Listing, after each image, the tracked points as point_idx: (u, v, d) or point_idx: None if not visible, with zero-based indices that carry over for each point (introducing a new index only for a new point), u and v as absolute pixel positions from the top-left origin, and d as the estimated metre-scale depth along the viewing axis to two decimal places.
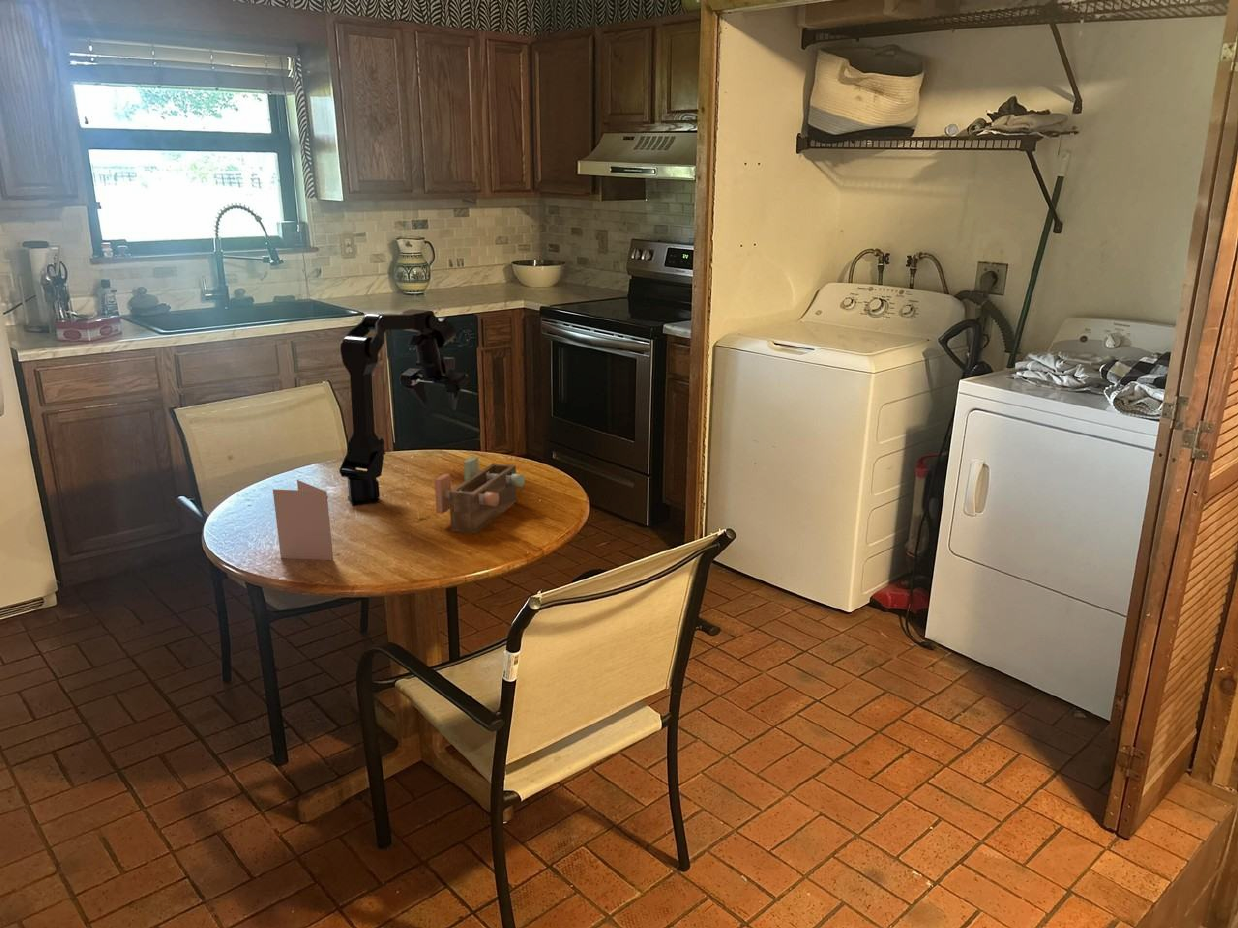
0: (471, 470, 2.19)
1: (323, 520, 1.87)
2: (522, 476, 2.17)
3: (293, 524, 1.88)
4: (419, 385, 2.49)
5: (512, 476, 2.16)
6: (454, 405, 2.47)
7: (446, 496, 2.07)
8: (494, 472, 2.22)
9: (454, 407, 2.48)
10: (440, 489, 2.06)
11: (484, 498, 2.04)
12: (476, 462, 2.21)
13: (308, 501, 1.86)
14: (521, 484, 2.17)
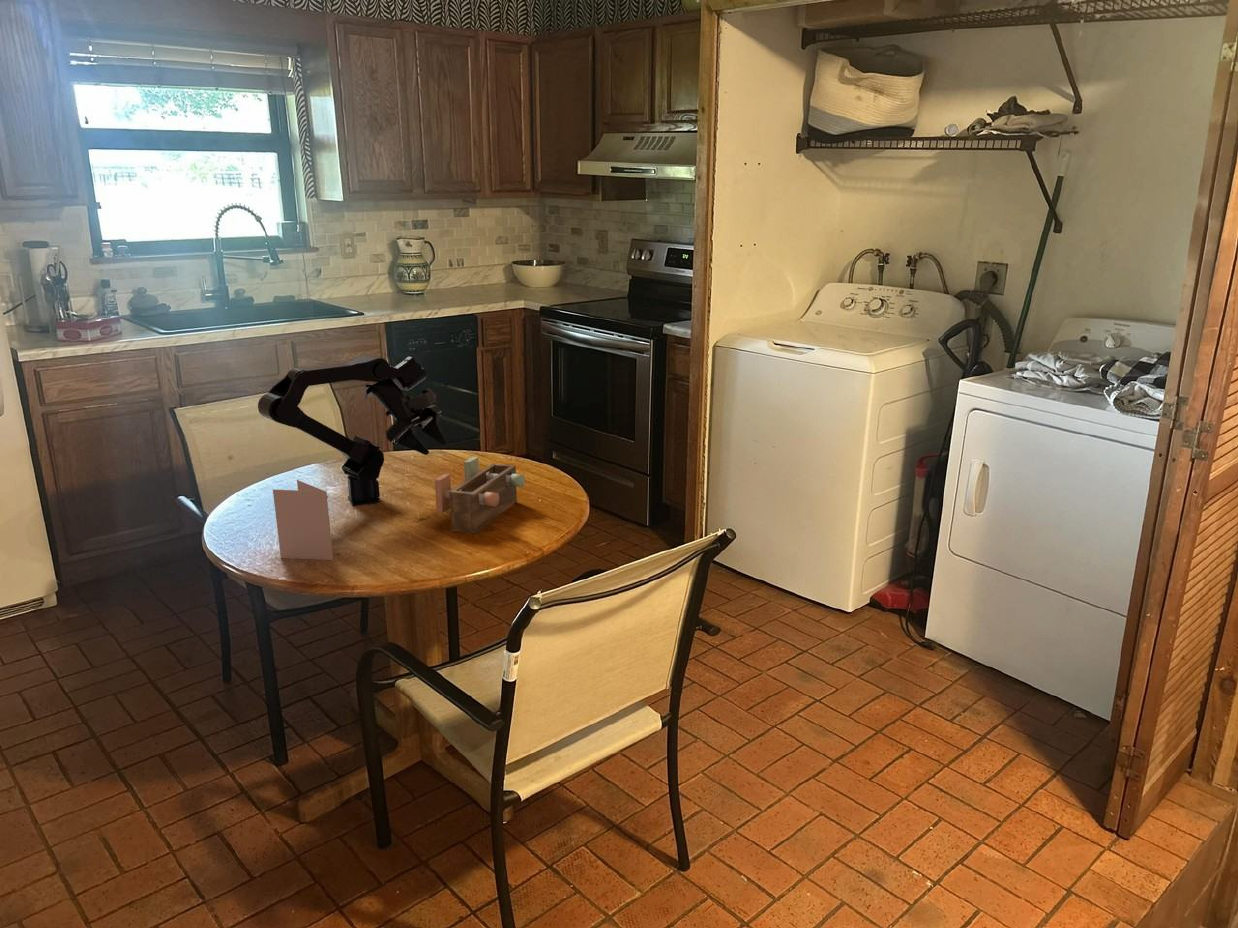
0: (471, 470, 2.19)
1: (323, 520, 1.87)
2: (522, 476, 2.17)
3: (293, 524, 1.88)
4: (429, 425, 2.27)
5: (512, 476, 2.16)
6: (421, 451, 2.18)
7: (446, 496, 2.07)
8: (494, 472, 2.22)
9: (423, 452, 2.18)
10: (440, 489, 2.06)
11: (484, 498, 2.04)
12: (476, 462, 2.21)
13: (308, 501, 1.86)
14: (521, 484, 2.17)
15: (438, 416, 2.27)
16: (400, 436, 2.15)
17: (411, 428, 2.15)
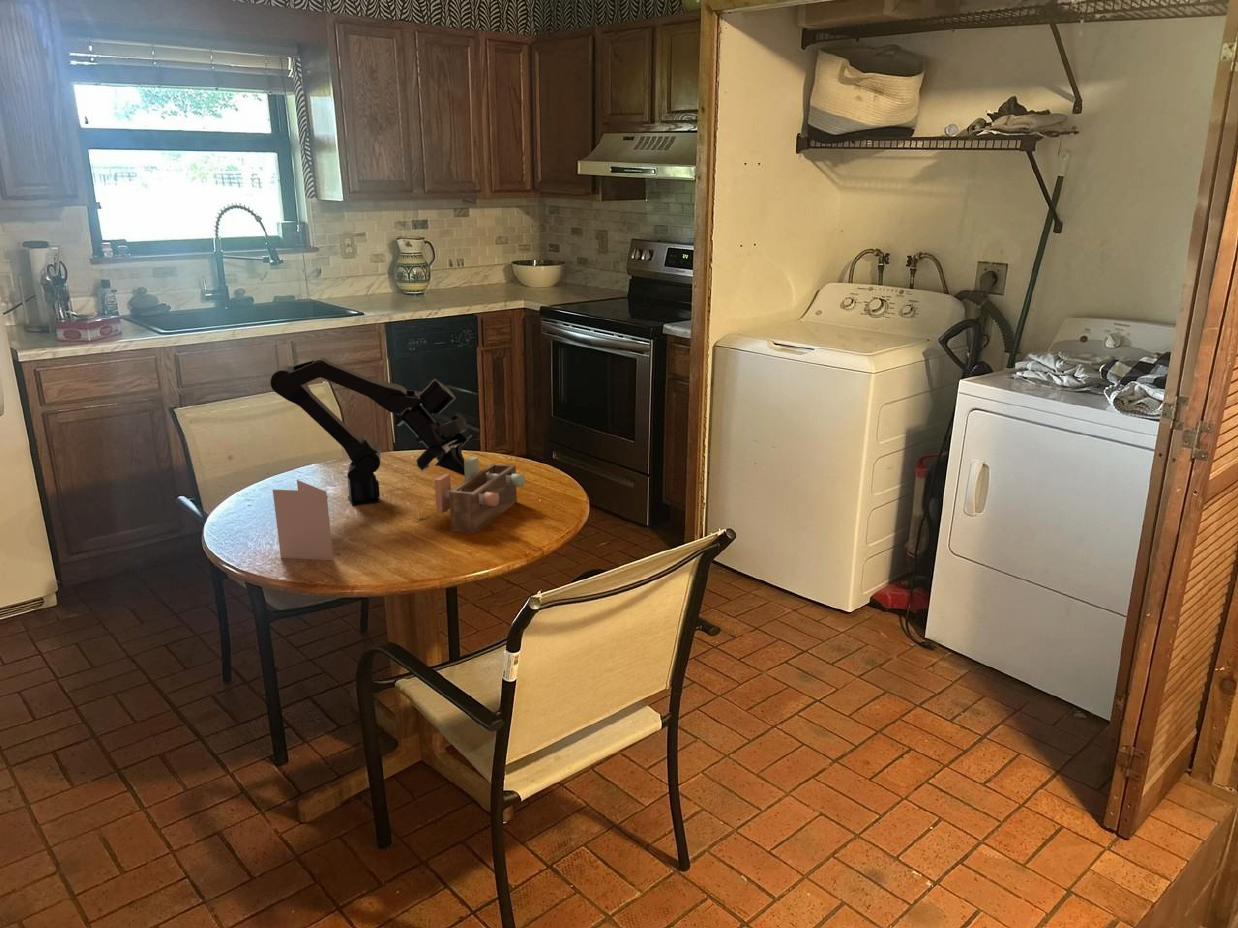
0: (471, 470, 2.19)
1: (323, 520, 1.87)
2: (522, 476, 2.17)
3: (293, 524, 1.88)
4: None
5: (512, 476, 2.16)
6: (461, 472, 2.21)
7: (446, 496, 2.07)
8: (494, 472, 2.22)
9: (463, 474, 2.21)
10: (440, 489, 2.06)
11: (484, 498, 2.04)
12: (476, 462, 2.21)
13: (308, 501, 1.86)
14: (521, 484, 2.17)
15: (460, 446, 2.22)
16: (440, 459, 2.18)
17: (451, 451, 2.18)
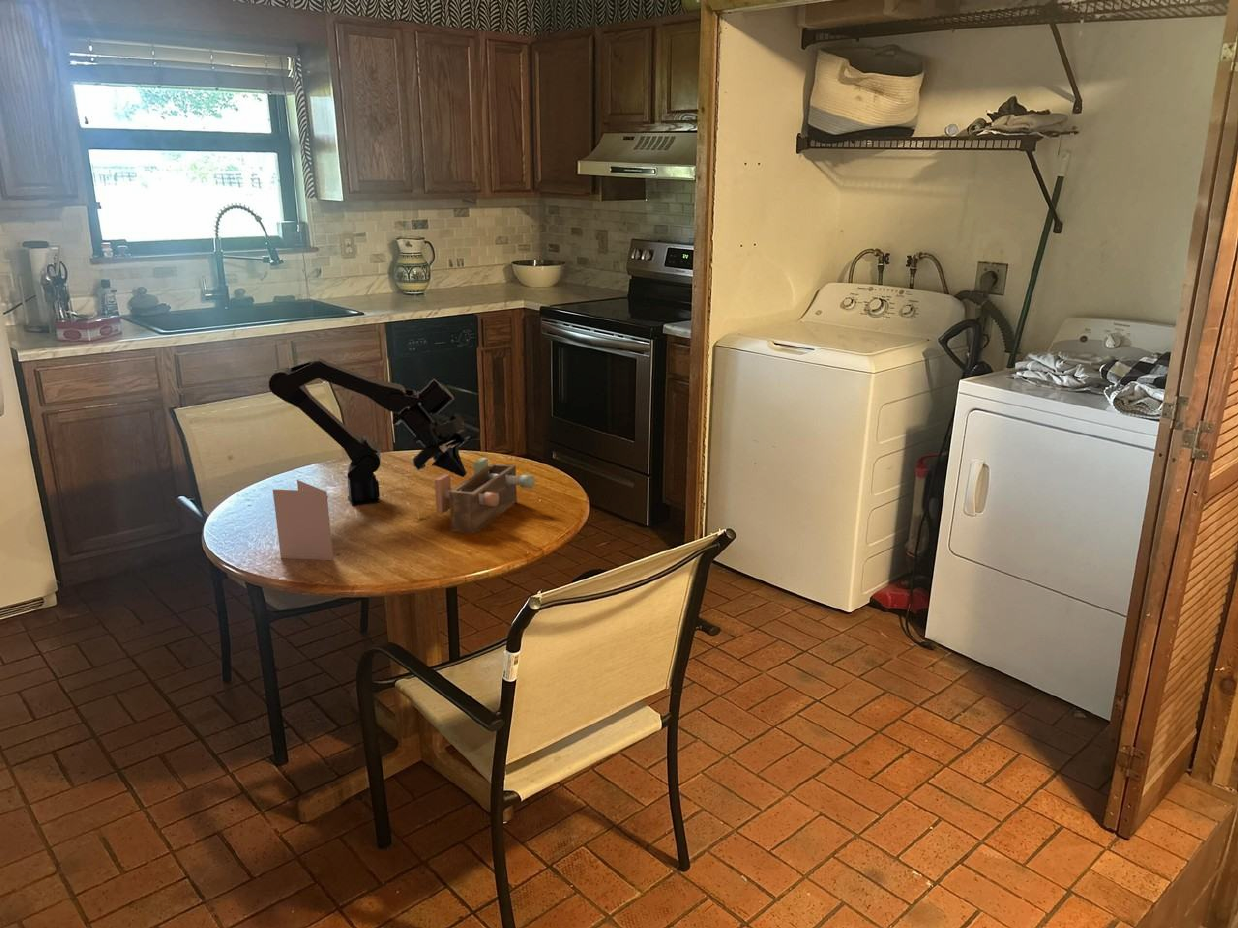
0: None
1: (323, 520, 1.87)
2: (532, 477, 2.16)
3: (293, 524, 1.88)
4: None
5: (522, 477, 2.16)
6: (457, 473, 2.21)
7: (446, 496, 2.07)
8: (494, 472, 2.22)
9: (460, 474, 2.21)
10: (440, 489, 2.06)
11: (484, 498, 2.04)
12: (486, 463, 2.20)
13: (308, 501, 1.86)
14: (531, 485, 2.16)
15: (457, 446, 2.22)
16: (437, 458, 2.18)
17: (448, 451, 2.18)
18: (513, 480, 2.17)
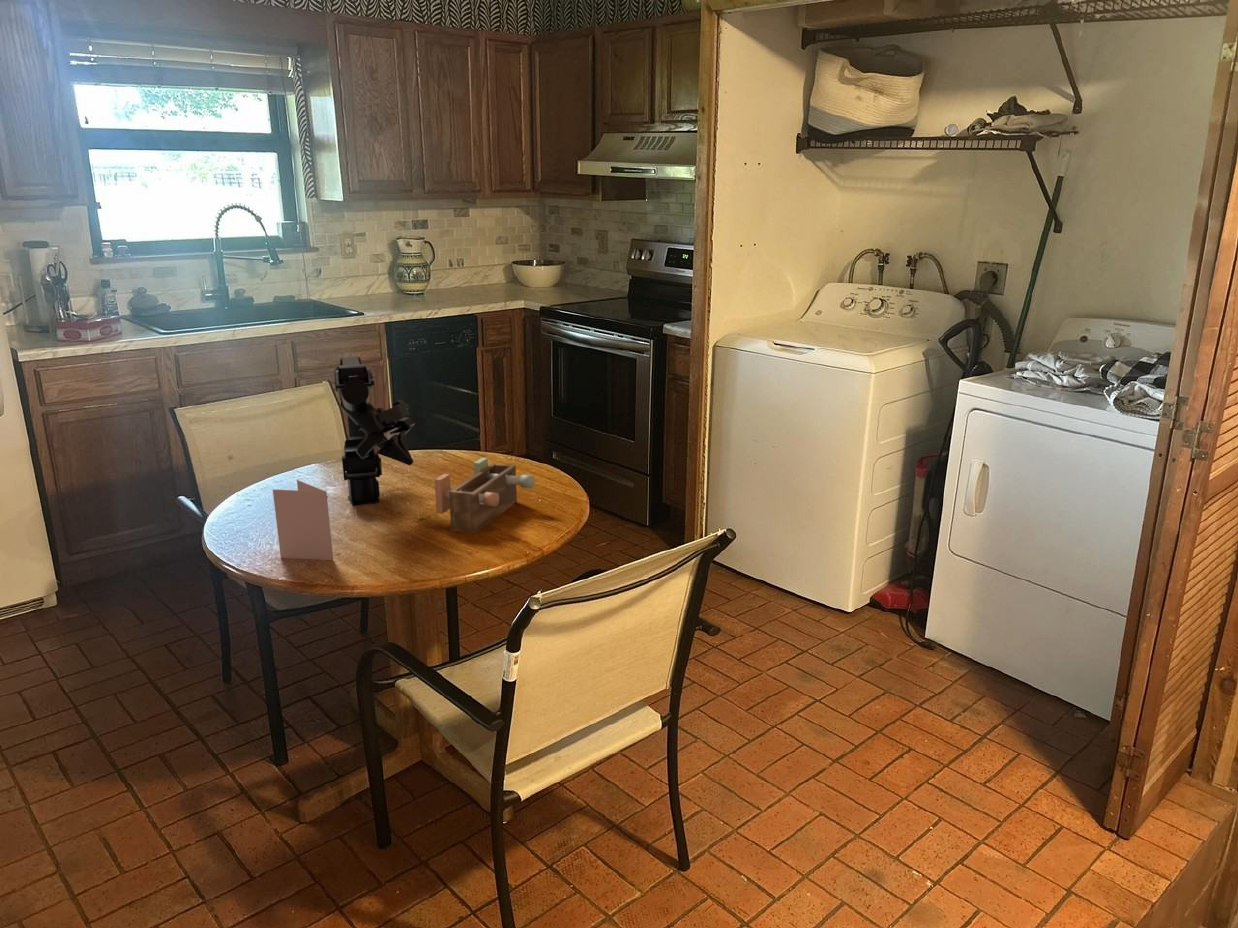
0: None
1: (323, 520, 1.87)
2: (532, 477, 2.16)
3: (293, 524, 1.88)
4: None
5: (522, 477, 2.16)
6: (404, 461, 2.10)
7: (446, 496, 2.07)
8: (494, 472, 2.22)
9: (407, 463, 2.10)
10: (440, 489, 2.06)
11: (484, 498, 2.04)
12: (486, 463, 2.20)
13: (308, 501, 1.86)
14: (531, 485, 2.16)
15: (403, 433, 2.11)
16: (382, 446, 2.07)
17: (393, 438, 2.07)
18: (513, 480, 2.17)
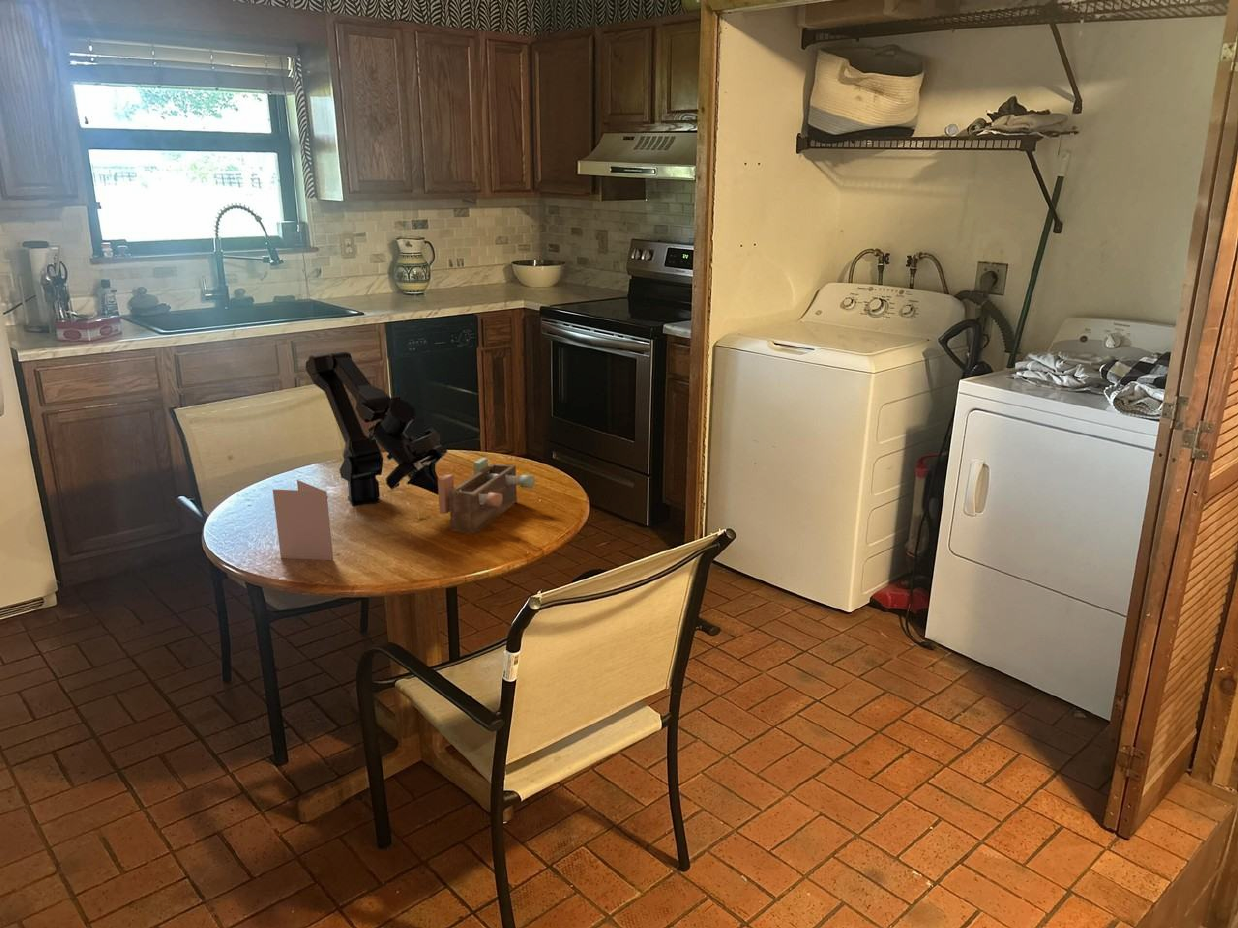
0: None
1: (323, 520, 1.87)
2: (532, 477, 2.16)
3: (293, 524, 1.88)
4: None
5: (522, 477, 2.16)
6: (434, 491, 2.08)
7: None
8: (494, 472, 2.22)
9: (437, 493, 2.08)
10: (443, 489, 2.05)
11: (487, 498, 2.03)
12: (486, 463, 2.20)
13: (308, 501, 1.86)
14: (531, 485, 2.16)
15: (434, 463, 2.09)
16: (412, 477, 2.05)
17: (424, 468, 2.05)
18: (513, 480, 2.17)
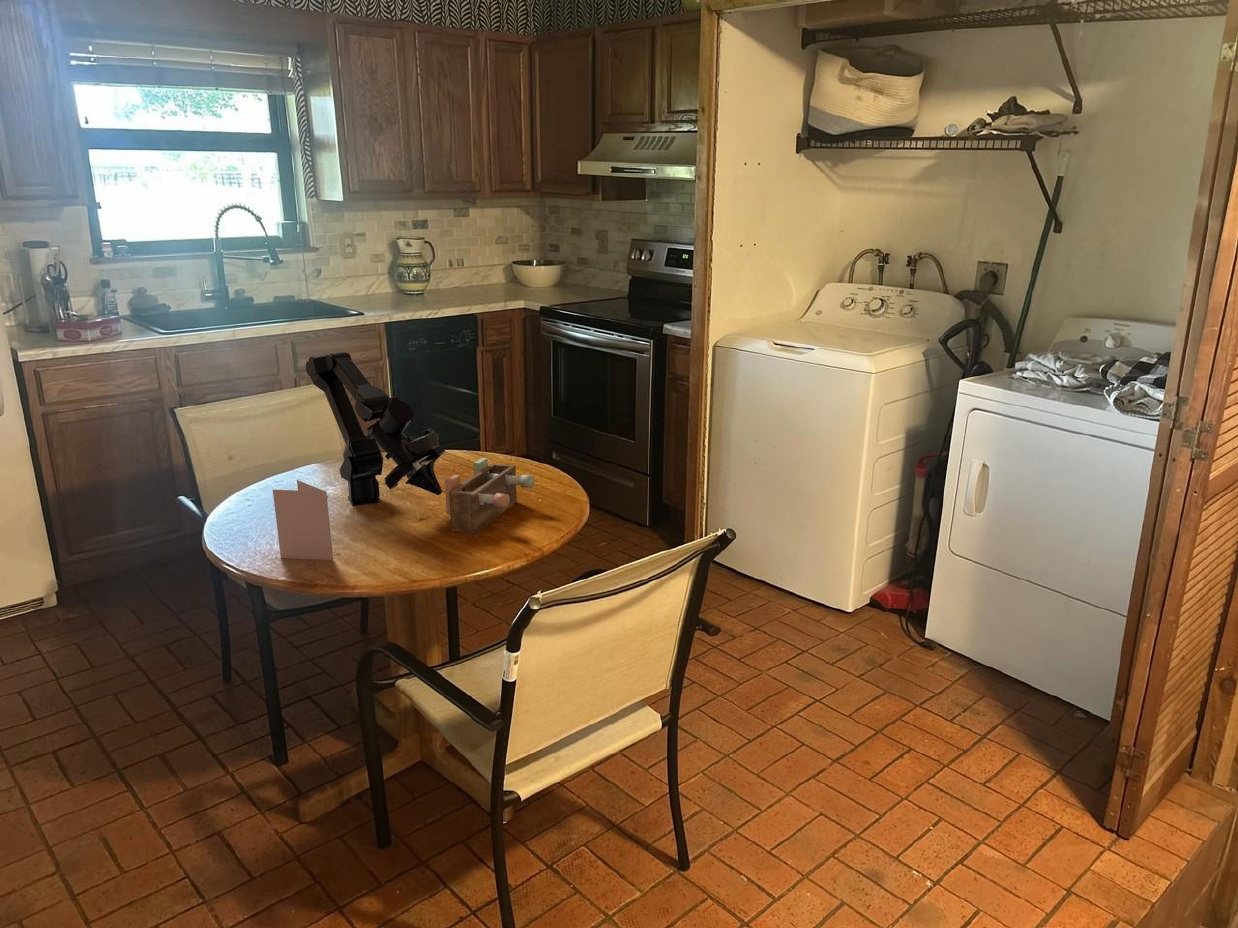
0: None
1: (323, 520, 1.87)
2: (532, 477, 2.16)
3: (293, 524, 1.88)
4: None
5: (522, 477, 2.16)
6: (432, 491, 2.08)
7: None
8: (494, 472, 2.22)
9: (435, 493, 2.08)
10: (450, 490, 2.05)
11: (494, 499, 2.03)
12: (486, 463, 2.20)
13: (308, 501, 1.86)
14: (531, 485, 2.16)
15: (432, 463, 2.09)
16: (411, 476, 2.06)
17: (422, 468, 2.05)
18: (513, 480, 2.17)
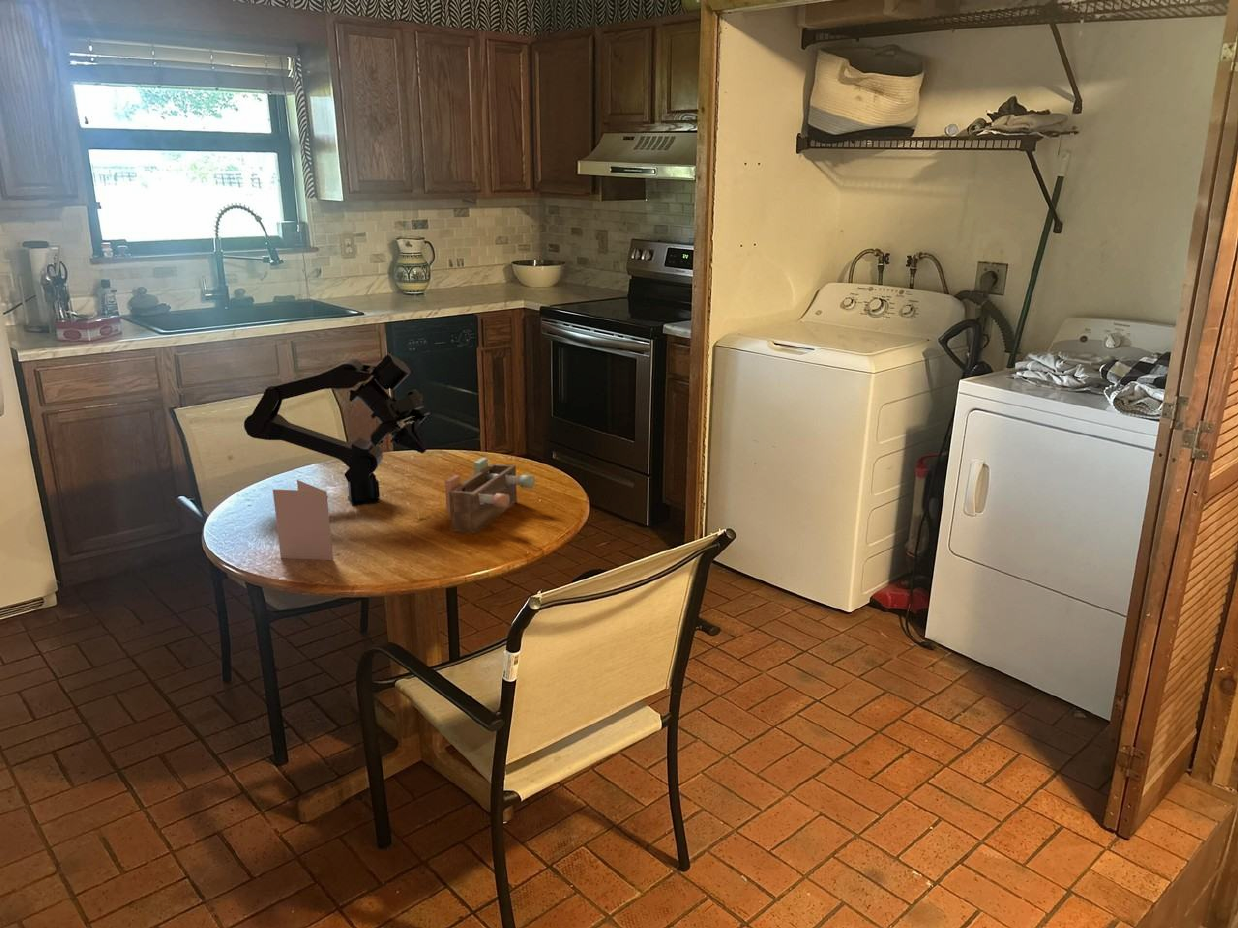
0: None
1: (323, 520, 1.87)
2: (532, 477, 2.16)
3: (293, 524, 1.88)
4: None
5: (522, 477, 2.16)
6: (417, 449, 2.16)
7: None
8: (494, 472, 2.22)
9: (419, 451, 2.16)
10: (450, 490, 2.05)
11: (494, 499, 2.03)
12: (486, 463, 2.20)
13: (308, 501, 1.86)
14: (531, 485, 2.16)
15: (416, 422, 2.17)
16: (395, 435, 2.14)
17: (406, 427, 2.13)
18: (513, 480, 2.17)
